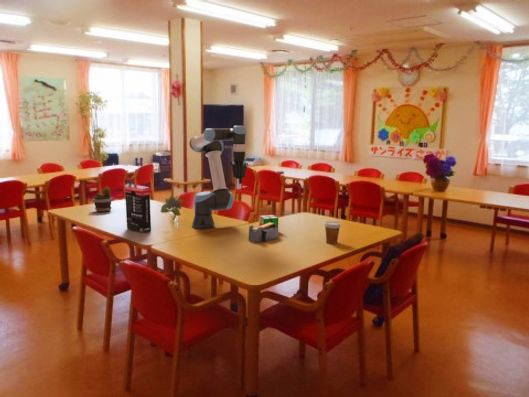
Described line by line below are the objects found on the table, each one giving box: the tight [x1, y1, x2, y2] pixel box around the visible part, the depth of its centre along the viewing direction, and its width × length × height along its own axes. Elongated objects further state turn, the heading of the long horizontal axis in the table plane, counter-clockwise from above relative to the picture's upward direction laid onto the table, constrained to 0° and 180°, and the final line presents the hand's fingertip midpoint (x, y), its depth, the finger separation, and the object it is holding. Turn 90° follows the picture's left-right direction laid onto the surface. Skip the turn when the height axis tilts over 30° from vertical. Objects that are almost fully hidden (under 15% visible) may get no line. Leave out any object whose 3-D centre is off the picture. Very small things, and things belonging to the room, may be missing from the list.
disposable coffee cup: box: [324, 221, 342, 245], centre depth 272 cm, size 10×10×12 cm
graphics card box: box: [124, 187, 152, 233], centre depth 293 cm, size 17×7×27 cm, turn 56°
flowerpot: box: [92, 186, 114, 213], centre depth 351 cm, size 14×15×20 cm
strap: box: [251, 222, 273, 232], centre depth 278 cm, size 5×17×2 cm, turn 142°
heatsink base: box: [248, 222, 279, 244], centre depth 279 cm, size 12×19×9 cm, turn 142°
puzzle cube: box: [258, 214, 279, 229], centre depth 296 cm, size 10×10×10 cm
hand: (239, 188), depth 284 cm, fingers closed
